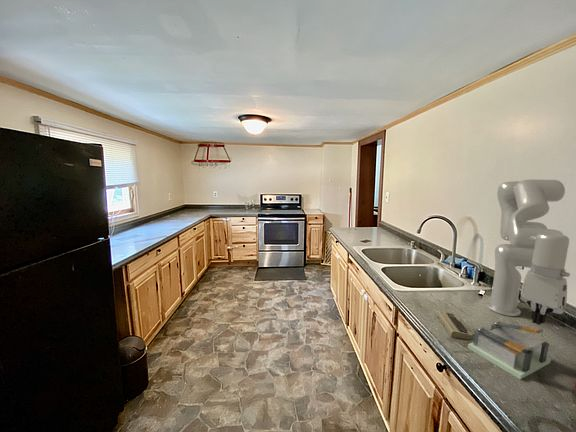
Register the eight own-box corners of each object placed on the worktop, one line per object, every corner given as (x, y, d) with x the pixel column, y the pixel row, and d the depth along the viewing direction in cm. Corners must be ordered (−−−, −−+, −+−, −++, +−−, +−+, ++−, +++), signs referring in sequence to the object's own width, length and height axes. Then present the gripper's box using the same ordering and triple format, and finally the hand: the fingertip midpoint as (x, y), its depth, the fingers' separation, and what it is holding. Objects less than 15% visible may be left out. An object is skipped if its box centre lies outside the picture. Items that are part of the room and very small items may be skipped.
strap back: (498, 324, 99) (497, 321, 99) (543, 332, 86) (542, 328, 86) (494, 326, 98) (493, 323, 98) (539, 334, 85) (538, 330, 85)
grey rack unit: (497, 334, 100) (500, 318, 99) (549, 359, 87) (552, 342, 86) (471, 344, 94) (473, 328, 93) (522, 374, 80) (525, 355, 79)
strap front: (481, 330, 95) (481, 327, 95) (527, 351, 82) (527, 348, 82) (477, 331, 94) (477, 328, 94) (522, 353, 81) (523, 350, 81)
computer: (473, 340, 99) (474, 333, 99) (450, 338, 101) (451, 330, 100) (455, 318, 115) (456, 311, 114) (436, 316, 116) (436, 309, 116)
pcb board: (496, 335, 102) (497, 332, 101) (550, 363, 87) (551, 359, 87) (467, 347, 95) (468, 344, 94) (520, 379, 80) (520, 375, 80)
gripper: (585, 277, 78) (574, 332, 81) (524, 262, 92) (517, 309, 95) (573, 281, 75) (562, 338, 78) (512, 265, 89) (505, 314, 92)
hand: (537, 322), depth 86 cm, fingers closed
